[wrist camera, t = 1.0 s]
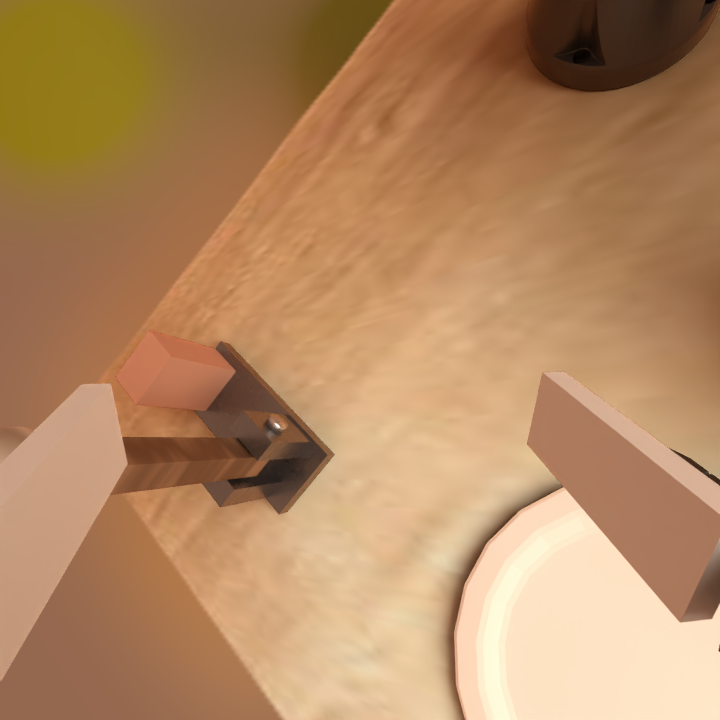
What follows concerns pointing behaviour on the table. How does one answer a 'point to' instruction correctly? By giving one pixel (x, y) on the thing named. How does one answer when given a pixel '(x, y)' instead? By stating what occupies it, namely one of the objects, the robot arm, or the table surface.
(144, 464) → the lever
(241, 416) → the press base
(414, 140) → the table surface
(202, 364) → the stop block
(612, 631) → the plate
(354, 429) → the table surface
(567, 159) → the table surface
